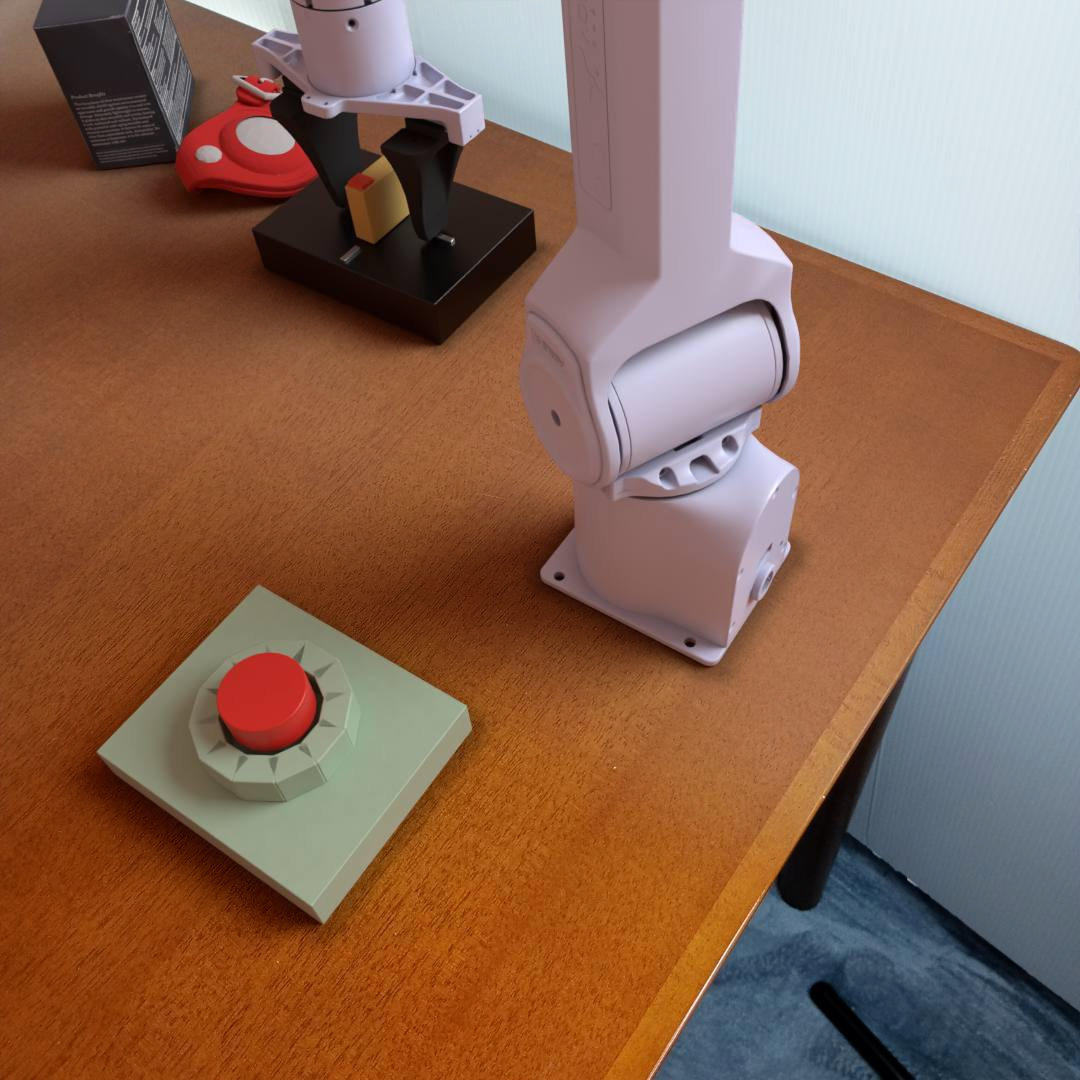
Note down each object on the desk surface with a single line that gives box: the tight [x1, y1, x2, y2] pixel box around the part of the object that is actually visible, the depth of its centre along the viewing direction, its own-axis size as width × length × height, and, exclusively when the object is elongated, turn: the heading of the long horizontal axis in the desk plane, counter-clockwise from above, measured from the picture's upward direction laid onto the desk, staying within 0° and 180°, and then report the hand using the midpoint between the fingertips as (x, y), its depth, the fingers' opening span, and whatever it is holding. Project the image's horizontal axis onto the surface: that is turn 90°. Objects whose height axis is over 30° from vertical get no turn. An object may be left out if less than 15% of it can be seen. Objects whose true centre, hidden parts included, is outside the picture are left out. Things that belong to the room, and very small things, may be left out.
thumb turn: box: [345, 154, 410, 244], centre depth 63 cm, size 5×1×4 cm, turn 146°
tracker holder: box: [174, 74, 319, 199], centre depth 73 cm, size 12×4×10 cm
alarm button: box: [216, 652, 316, 751], centre depth 43 cm, size 4×4×2 cm
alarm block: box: [96, 584, 473, 925], centre depth 45 cm, size 12×10×4 cm
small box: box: [32, 0, 196, 171], centre depth 74 cm, size 11×6×10 cm, turn 6°
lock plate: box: [251, 147, 538, 345], centre depth 65 cm, size 14×10×3 cm
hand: (391, 214), depth 64 cm, fingers open, 6 cm apart
